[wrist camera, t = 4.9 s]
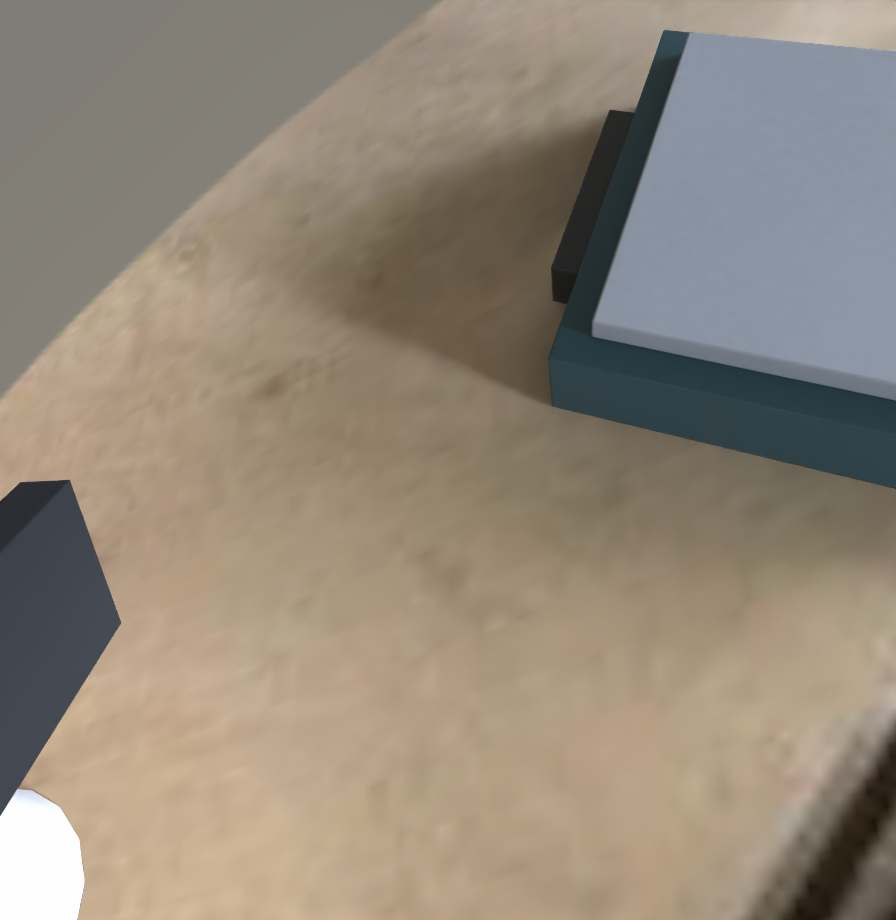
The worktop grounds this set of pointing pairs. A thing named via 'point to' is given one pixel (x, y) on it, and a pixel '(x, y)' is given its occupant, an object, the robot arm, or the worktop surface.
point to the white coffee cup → (38, 861)
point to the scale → (741, 256)
